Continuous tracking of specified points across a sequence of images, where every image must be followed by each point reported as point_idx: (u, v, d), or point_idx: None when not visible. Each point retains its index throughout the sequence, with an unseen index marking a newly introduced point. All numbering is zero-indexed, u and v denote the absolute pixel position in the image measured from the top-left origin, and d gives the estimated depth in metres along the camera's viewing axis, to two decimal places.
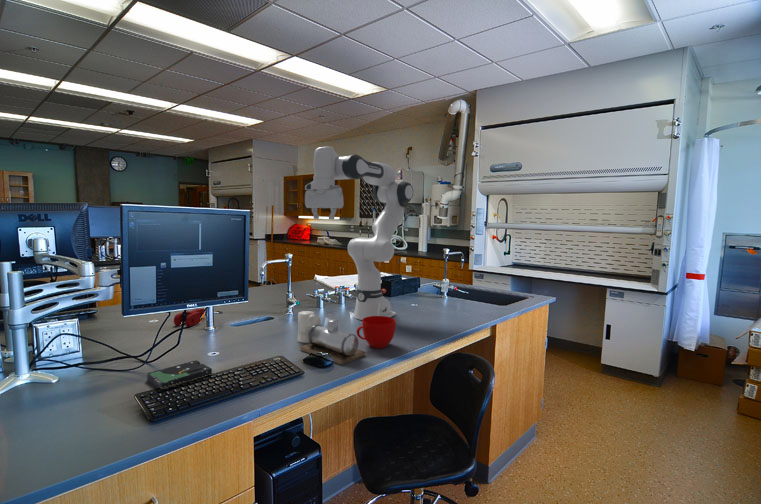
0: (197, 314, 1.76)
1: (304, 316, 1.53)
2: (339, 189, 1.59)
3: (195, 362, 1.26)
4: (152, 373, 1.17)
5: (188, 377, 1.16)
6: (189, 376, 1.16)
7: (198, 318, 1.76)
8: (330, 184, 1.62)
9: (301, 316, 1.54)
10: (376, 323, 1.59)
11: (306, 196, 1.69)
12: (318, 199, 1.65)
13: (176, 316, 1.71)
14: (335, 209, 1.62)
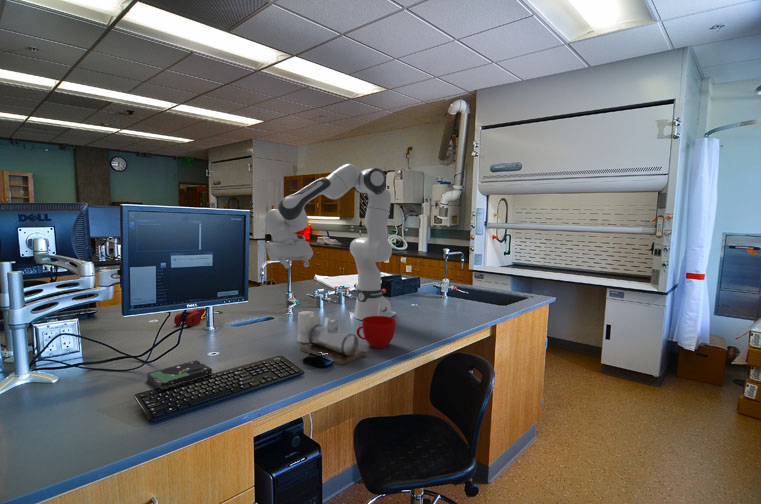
0: (197, 314, 1.76)
1: (304, 316, 1.53)
2: None
3: (195, 362, 1.26)
4: (152, 373, 1.17)
5: (188, 377, 1.16)
6: (189, 376, 1.16)
7: (198, 318, 1.76)
8: None
9: (301, 316, 1.54)
10: (376, 323, 1.59)
11: None
12: None
13: (176, 316, 1.71)
14: (281, 259, 1.61)
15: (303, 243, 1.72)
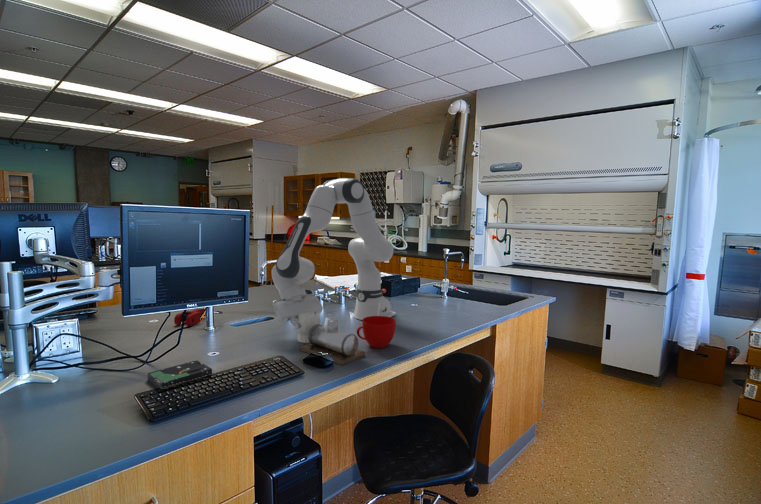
0: (197, 314, 1.76)
1: (304, 316, 1.53)
2: None
3: (195, 362, 1.26)
4: (152, 373, 1.17)
5: (188, 378, 1.16)
6: (189, 376, 1.16)
7: (198, 318, 1.77)
8: (283, 298, 1.59)
9: (301, 316, 1.54)
10: (376, 323, 1.59)
11: None
12: None
13: (177, 316, 1.72)
14: (291, 319, 1.54)
15: (312, 298, 1.65)
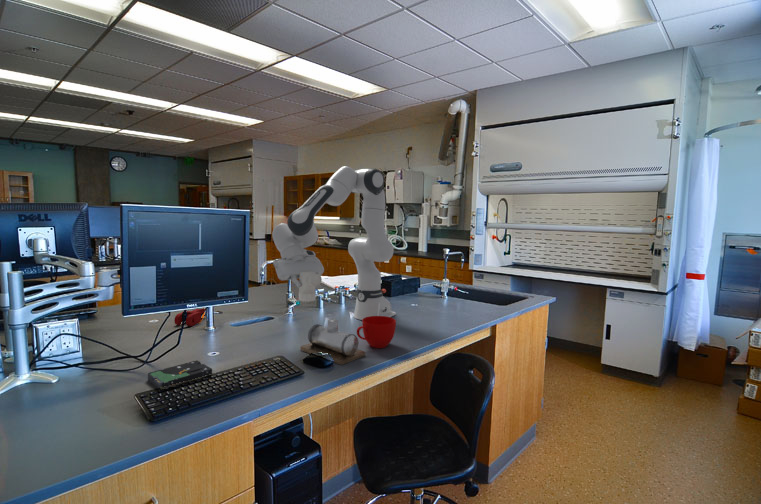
0: (198, 314, 1.76)
1: (305, 274, 1.51)
2: None
3: (196, 362, 1.26)
4: (153, 373, 1.17)
5: (188, 378, 1.16)
6: (189, 376, 1.16)
7: (199, 318, 1.77)
8: None
9: (302, 274, 1.51)
10: (376, 323, 1.59)
11: None
12: None
13: (177, 316, 1.72)
14: (292, 277, 1.52)
15: (313, 259, 1.62)
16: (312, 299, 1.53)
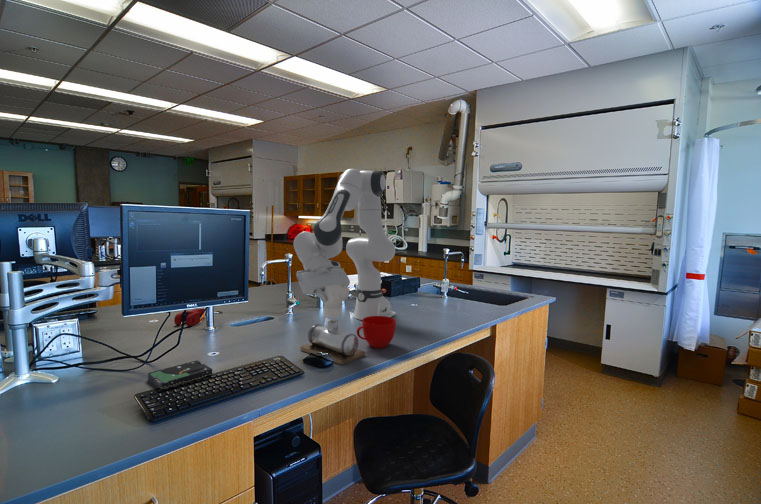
0: (198, 314, 1.76)
1: (332, 288, 1.38)
2: None
3: (196, 362, 1.26)
4: (153, 373, 1.17)
5: (188, 378, 1.16)
6: (189, 376, 1.16)
7: (198, 318, 1.77)
8: (307, 269, 1.44)
9: (328, 288, 1.39)
10: (376, 323, 1.59)
11: None
12: None
13: (177, 316, 1.72)
14: (317, 291, 1.39)
15: (338, 271, 1.50)
16: (338, 315, 1.40)
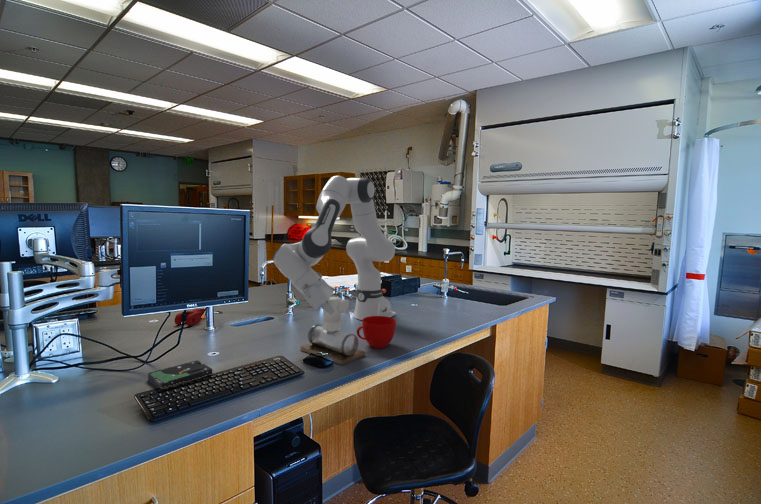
0: (198, 314, 1.76)
1: (336, 302, 1.39)
2: None
3: (196, 362, 1.26)
4: (153, 373, 1.17)
5: (188, 378, 1.16)
6: (189, 376, 1.16)
7: (199, 318, 1.77)
8: (303, 284, 1.38)
9: (332, 302, 1.39)
10: (376, 323, 1.59)
11: None
12: None
13: (177, 316, 1.72)
14: (324, 304, 1.36)
15: (322, 281, 1.49)
16: (340, 326, 1.43)
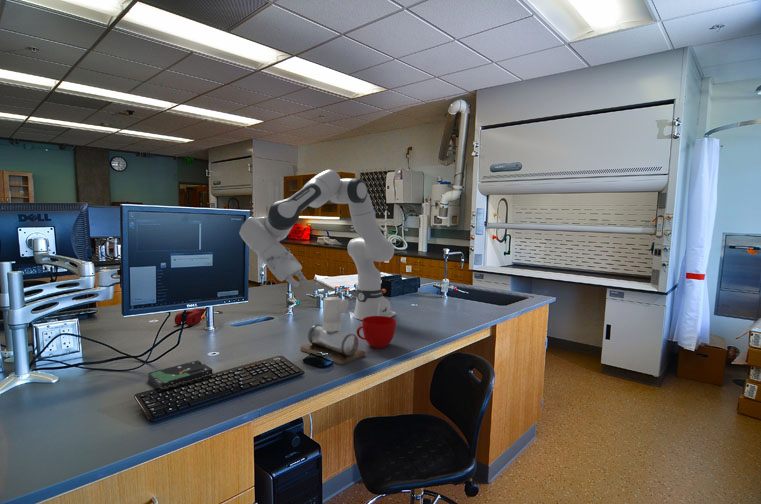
0: (198, 313, 1.76)
1: (335, 302, 1.39)
2: None
3: (196, 362, 1.26)
4: (153, 373, 1.17)
5: (188, 378, 1.16)
6: (189, 376, 1.16)
7: (199, 317, 1.77)
8: (269, 257, 1.37)
9: (332, 302, 1.39)
10: (376, 323, 1.59)
11: None
12: None
13: (177, 315, 1.72)
14: (289, 277, 1.35)
15: (290, 256, 1.48)
16: (340, 327, 1.43)
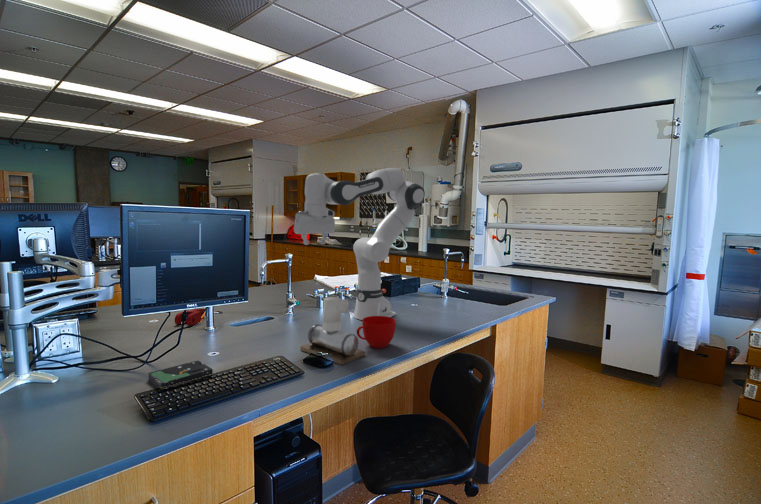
0: (198, 313, 1.77)
1: (335, 302, 1.39)
2: None
3: (197, 362, 1.26)
4: (153, 373, 1.17)
5: (188, 378, 1.16)
6: (189, 376, 1.16)
7: (199, 317, 1.77)
8: (306, 210, 1.64)
9: (332, 302, 1.39)
10: (376, 323, 1.59)
11: None
12: None
13: (177, 315, 1.72)
14: (303, 235, 1.63)
15: (330, 219, 1.72)
16: (340, 327, 1.43)
